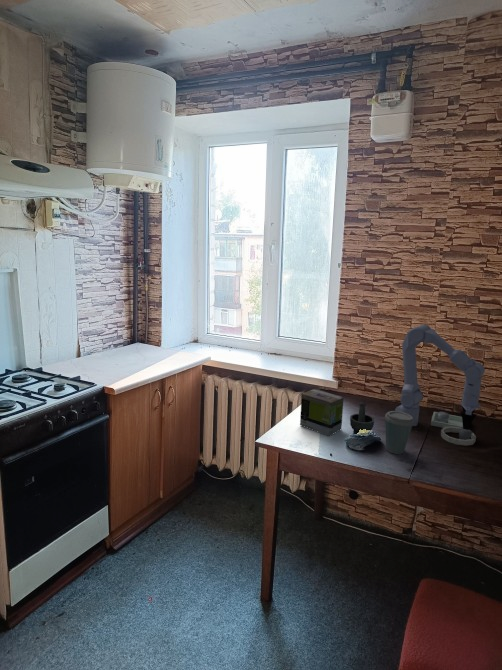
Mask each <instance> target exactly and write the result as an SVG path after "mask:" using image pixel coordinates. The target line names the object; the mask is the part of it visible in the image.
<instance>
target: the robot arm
mask: <svg viewBox="0 0 502 670" xmlns="http://www.w3.org/2000/svg"><path fill="white" fill-rule="evenodd" d="M422 342H423V344H433V345H434V346H435V347H436V348H438V349H439V350H441V351H442V352H443V353H444V354H446V355H447V356H448V357H449V361H450V362H451V363H452V364H454V366H456V367H457V368H458V369H460V370H461V371H462V372H463V374H464V376H465V379H464V380H465V381H464V386H463V391H462V398H461V399H462V400H461V402H460V405H461V408H462V410H460V417H462V421H463V429H466V430H471V429H470V428H471V426H472V424H473V421H474V420H475V418H476V417H477V415H478V414H476V413H475V411H476V409H482V405H481V404H479V399H480V394H481V393H480V392H481V389H482V388H481V387H482V381H483V377H482V376H483V375H484V374H485V372H486V371H485V367H484V365H483V364H482V363H481V362H478V361H476V360H475V359H472V358H471V357H470V356H468V355H467V352H466V351H465V350H461V349H455V348H454V347H453V346H452V345H451V344H450V343H449V342H447V341H446V340H445V339H444V338H443V337H441V335H440V334H438V332H437V331H436V330H435V329H434V328H431V327H430V325H427V324H420V325H419V326H416V327H415V326H414V327H412V328H411V329H409V330H408V331H406V336H405V338H404V340H403V341H402V343H401V344H402V345H401V346H402V347H401V348H402V363H403V366H402V367H403V380H404V382H403V383H404V384H403V387H402V389H401V396H400V398H399V399H400V403H401V404H400V405H399V406H396V408H395V410H394V411H399V412H404V413H407V414H409V415H411V416H412V417H413V419H414V424H413V425H412V427H416V426H418V423H419V415H420V414H419V413H420V407H421V405H420V402H421V401H422V400H423V397H424V395H423V392H422V390H421V386H420V384H419V383H418V369H417V366H418V365H417V350H416V348H417V346H419V345H420V344H421V343H422Z"/></svg>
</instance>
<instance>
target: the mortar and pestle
mask: <svg viewBox="0 0 502 670" xmlns="http://www.w3.org/2000/svg"><path fill="white" fill-rule="evenodd" d="M358 405H359V407H358V408H359V409H358V413H354V414H351V415H350V416H349V424H350V427H351V429H352V430H353V434H352V435H354V434H357V433H358V432H359V430H360V429H361V430H363V429H366V430H370V431H372V429H373V428H374V426H375V425H374V424H375V418H374V417H372V416H371V415H370V414H366V402H359V404H358Z"/></svg>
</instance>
